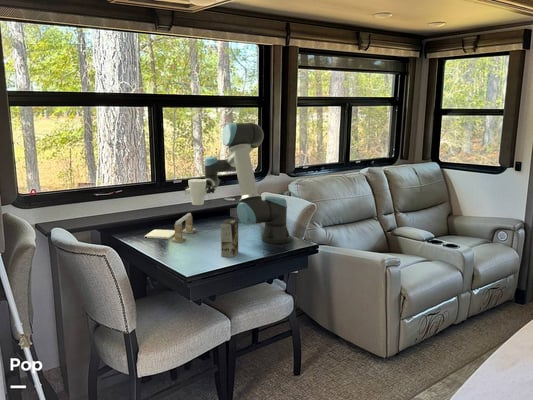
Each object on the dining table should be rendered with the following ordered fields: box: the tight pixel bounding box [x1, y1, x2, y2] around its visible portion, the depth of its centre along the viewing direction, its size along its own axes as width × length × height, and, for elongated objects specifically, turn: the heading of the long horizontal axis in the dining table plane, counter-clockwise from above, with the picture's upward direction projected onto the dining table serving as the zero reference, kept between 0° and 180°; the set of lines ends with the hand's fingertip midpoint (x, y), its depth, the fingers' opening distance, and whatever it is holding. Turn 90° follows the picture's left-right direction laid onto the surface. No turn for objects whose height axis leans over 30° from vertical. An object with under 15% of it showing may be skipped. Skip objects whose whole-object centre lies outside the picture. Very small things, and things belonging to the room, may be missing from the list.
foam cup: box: [187, 178, 206, 206], centre depth 247 cm, size 10×9×13 cm
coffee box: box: [220, 219, 239, 258], centre depth 218 cm, size 9×6×16 cm
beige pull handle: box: [171, 215, 196, 243], centre depth 250 cm, size 23×6×9 cm, turn 172°
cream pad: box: [144, 229, 175, 240], centre depth 253 cm, size 14×14×1 cm
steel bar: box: [174, 212, 192, 225], centre depth 249 cm, size 22×2×2 cm, turn 172°
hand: (195, 192), depth 243 cm, fingers closed on foam cup, 9 cm apart
